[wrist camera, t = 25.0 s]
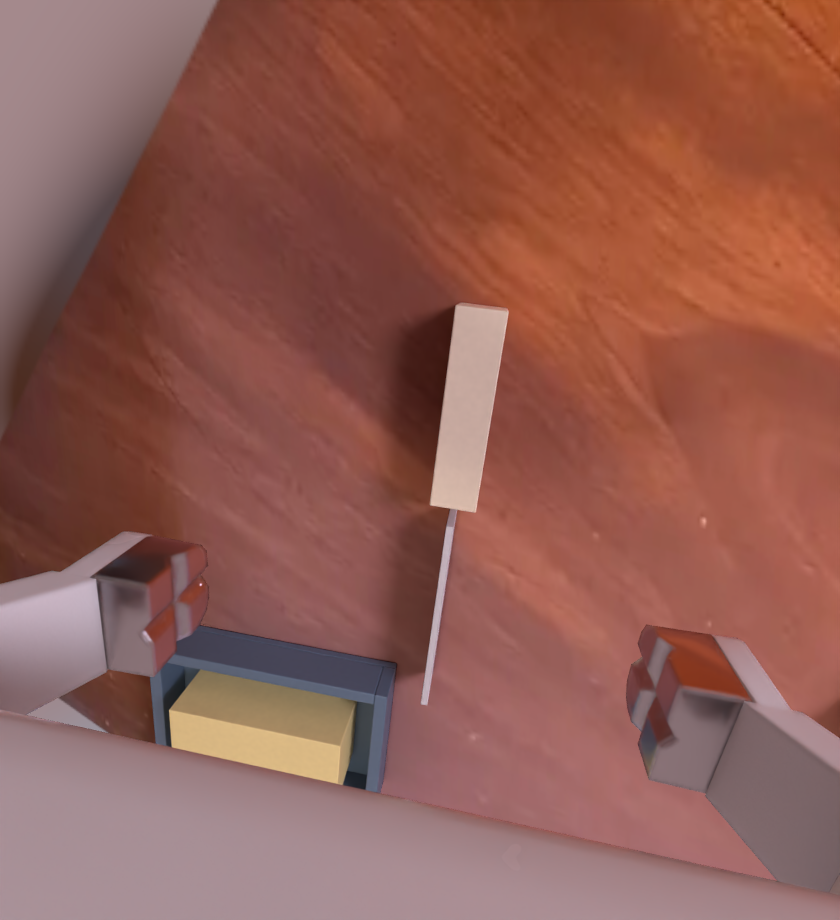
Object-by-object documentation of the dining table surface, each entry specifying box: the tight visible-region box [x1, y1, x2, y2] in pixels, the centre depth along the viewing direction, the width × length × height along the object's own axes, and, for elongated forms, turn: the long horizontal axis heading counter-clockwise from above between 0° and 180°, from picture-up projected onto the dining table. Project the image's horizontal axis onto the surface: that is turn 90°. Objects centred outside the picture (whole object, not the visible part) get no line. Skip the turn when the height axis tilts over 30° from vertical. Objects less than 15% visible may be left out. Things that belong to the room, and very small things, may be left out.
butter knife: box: [421, 303, 508, 705], centre depth 28 cm, size 23×2×3 cm, turn 174°
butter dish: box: [150, 626, 397, 793], centre depth 35 cm, size 16×11×3 cm
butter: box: [169, 670, 357, 785], centre depth 34 cm, size 11×5×4 cm, turn 84°
